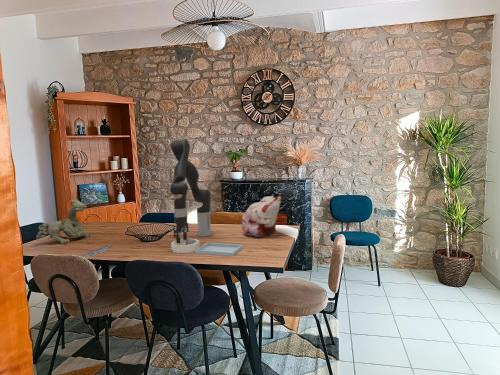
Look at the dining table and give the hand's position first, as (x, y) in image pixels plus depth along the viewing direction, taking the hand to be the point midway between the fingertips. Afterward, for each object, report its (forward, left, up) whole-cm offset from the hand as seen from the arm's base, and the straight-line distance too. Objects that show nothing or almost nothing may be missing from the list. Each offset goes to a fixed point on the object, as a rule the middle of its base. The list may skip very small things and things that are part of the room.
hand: (181, 241), depth 225 cm
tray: (-5, +23, -6) cm, 24 cm away
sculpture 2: (-53, +37, -6) cm, 65 cm away
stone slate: (-5, +2, -5) cm, 7 cm away
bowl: (-3, +1, -6) cm, 7 cm away
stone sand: (0, 0, -5) cm, 5 cm away
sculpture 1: (-5, -94, -6) cm, 94 cm away
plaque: (+15, -52, -7) cm, 55 cm away
